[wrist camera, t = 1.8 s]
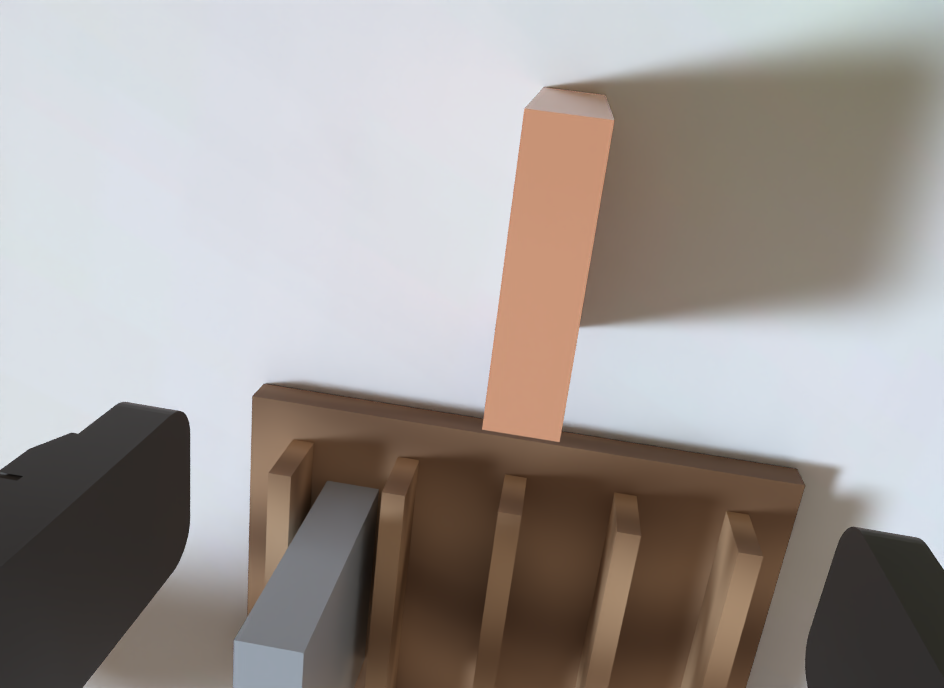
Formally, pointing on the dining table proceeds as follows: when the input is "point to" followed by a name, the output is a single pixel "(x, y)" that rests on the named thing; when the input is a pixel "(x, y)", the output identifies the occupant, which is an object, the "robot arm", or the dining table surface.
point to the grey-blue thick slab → (314, 600)
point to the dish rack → (529, 546)
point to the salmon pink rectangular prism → (547, 260)
